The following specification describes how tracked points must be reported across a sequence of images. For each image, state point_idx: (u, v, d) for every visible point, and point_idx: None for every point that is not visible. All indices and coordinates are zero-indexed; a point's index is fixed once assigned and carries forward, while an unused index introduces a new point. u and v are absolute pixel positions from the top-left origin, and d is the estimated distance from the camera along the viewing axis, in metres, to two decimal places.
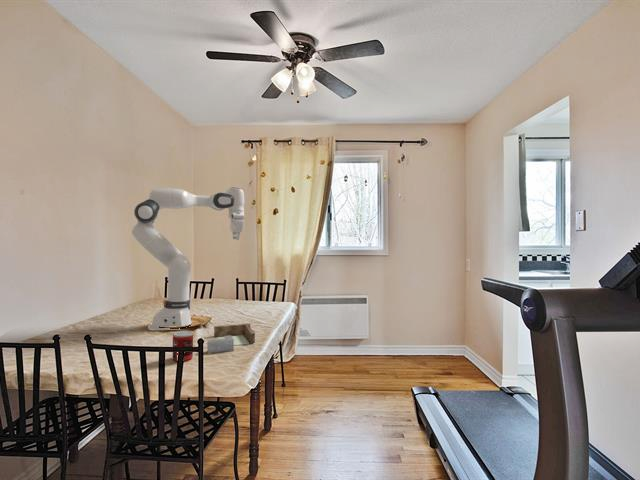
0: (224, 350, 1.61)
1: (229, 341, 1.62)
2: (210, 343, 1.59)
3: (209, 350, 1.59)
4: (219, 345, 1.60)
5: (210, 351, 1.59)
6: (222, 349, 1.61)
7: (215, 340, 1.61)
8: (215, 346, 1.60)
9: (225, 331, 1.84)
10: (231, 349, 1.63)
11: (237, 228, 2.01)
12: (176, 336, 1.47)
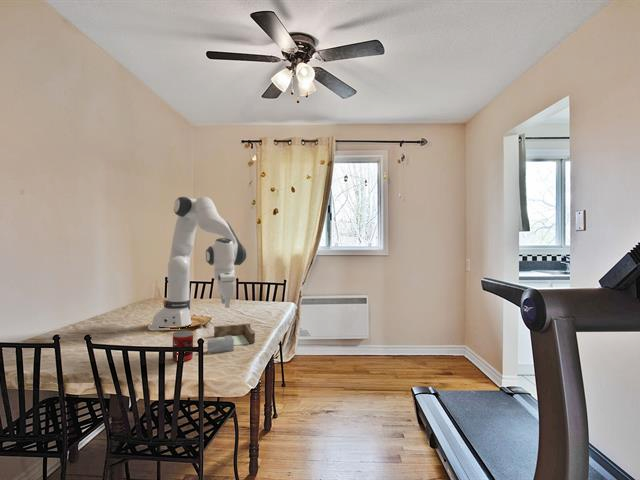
0: (224, 350, 1.61)
1: (229, 341, 1.62)
2: (210, 343, 1.59)
3: (209, 350, 1.59)
4: (219, 345, 1.60)
5: (210, 351, 1.59)
6: (222, 349, 1.61)
7: (215, 340, 1.61)
8: (215, 346, 1.60)
9: (225, 331, 1.84)
10: (231, 349, 1.63)
11: (226, 295, 1.53)
12: (176, 336, 1.47)
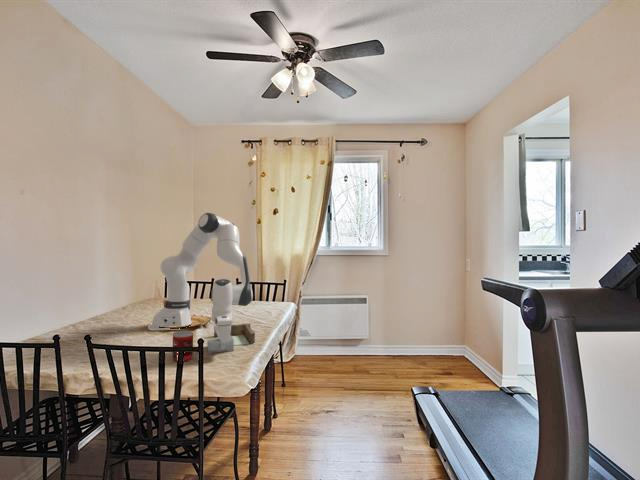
0: (224, 350, 1.61)
1: (229, 341, 1.62)
2: (210, 343, 1.59)
3: (209, 350, 1.59)
4: (219, 345, 1.60)
5: (210, 351, 1.59)
6: (222, 349, 1.61)
7: (215, 340, 1.61)
8: (215, 346, 1.60)
9: None
10: (231, 349, 1.63)
11: (222, 339, 1.52)
12: (176, 336, 1.47)
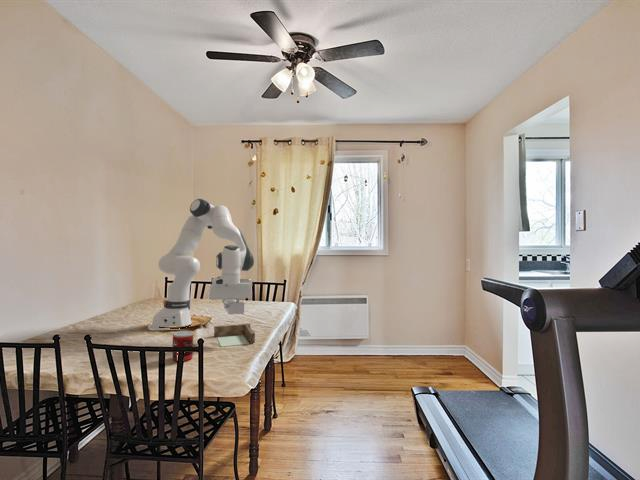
0: (227, 311, 1.74)
1: (228, 304, 1.71)
2: None
3: None
4: None
5: None
6: (227, 310, 1.74)
7: (230, 300, 1.78)
8: None
9: (225, 331, 1.84)
10: (228, 312, 1.71)
11: None
12: (176, 336, 1.47)
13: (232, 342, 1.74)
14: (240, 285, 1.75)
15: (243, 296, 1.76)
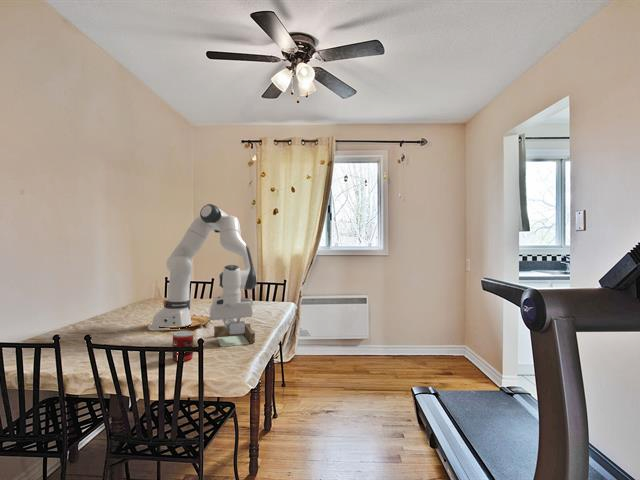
0: (228, 331, 1.74)
1: (229, 324, 1.72)
2: (226, 320, 1.80)
3: None
4: None
5: None
6: (228, 329, 1.75)
7: (231, 319, 1.78)
8: None
9: (225, 331, 1.84)
10: (229, 332, 1.71)
11: (209, 315, 1.73)
12: (176, 336, 1.47)
13: (232, 342, 1.74)
14: (241, 304, 1.75)
15: (244, 315, 1.76)
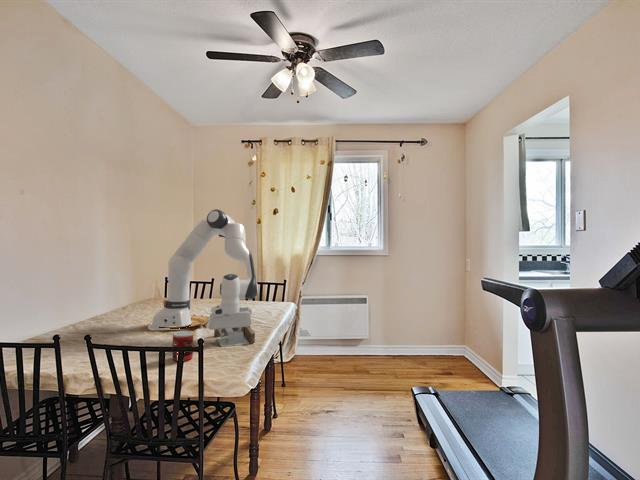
0: (226, 340, 1.74)
1: (227, 334, 1.72)
2: (225, 329, 1.79)
3: None
4: (226, 334, 1.76)
5: (225, 336, 1.80)
6: (226, 339, 1.75)
7: (229, 329, 1.78)
8: (225, 333, 1.78)
9: None
10: (227, 342, 1.71)
11: (208, 324, 1.72)
12: (176, 336, 1.47)
13: None
14: (239, 314, 1.75)
15: (243, 325, 1.76)
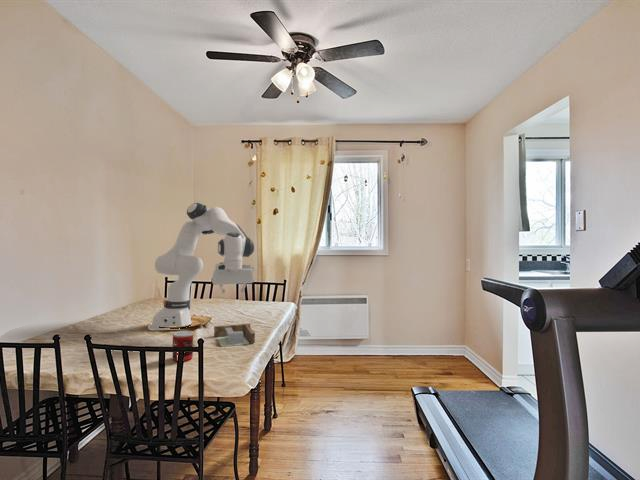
0: (226, 340, 1.74)
1: (227, 334, 1.72)
2: (225, 329, 1.79)
3: None
4: (226, 334, 1.76)
5: (225, 336, 1.80)
6: (226, 339, 1.75)
7: (229, 329, 1.78)
8: (225, 333, 1.78)
9: None
10: (227, 342, 1.71)
11: (212, 279, 1.80)
12: (176, 336, 1.47)
13: None
14: (242, 271, 1.82)
15: (245, 281, 1.83)
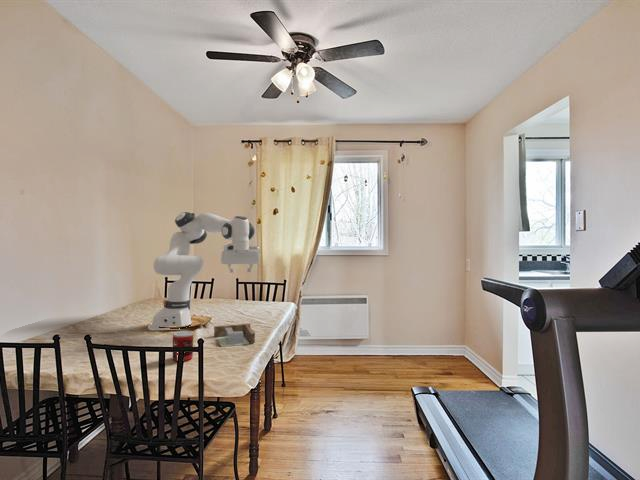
0: (226, 340, 1.74)
1: (227, 334, 1.72)
2: (225, 329, 1.79)
3: None
4: (226, 334, 1.76)
5: (225, 336, 1.80)
6: (226, 339, 1.75)
7: (229, 329, 1.78)
8: (225, 333, 1.78)
9: None
10: (227, 342, 1.71)
11: None
12: (176, 336, 1.47)
13: None
14: (249, 251, 1.95)
15: (252, 262, 1.96)
